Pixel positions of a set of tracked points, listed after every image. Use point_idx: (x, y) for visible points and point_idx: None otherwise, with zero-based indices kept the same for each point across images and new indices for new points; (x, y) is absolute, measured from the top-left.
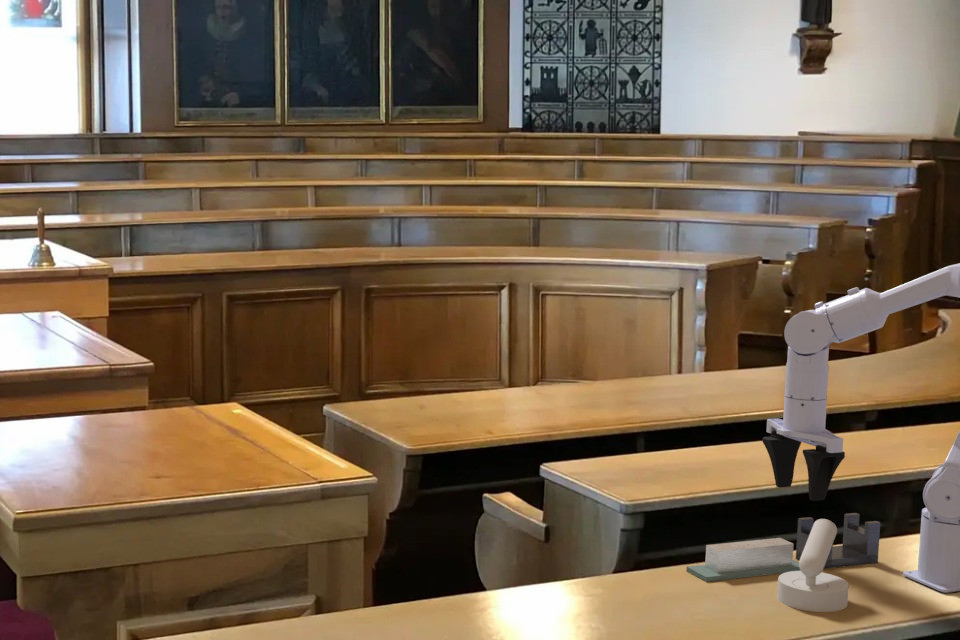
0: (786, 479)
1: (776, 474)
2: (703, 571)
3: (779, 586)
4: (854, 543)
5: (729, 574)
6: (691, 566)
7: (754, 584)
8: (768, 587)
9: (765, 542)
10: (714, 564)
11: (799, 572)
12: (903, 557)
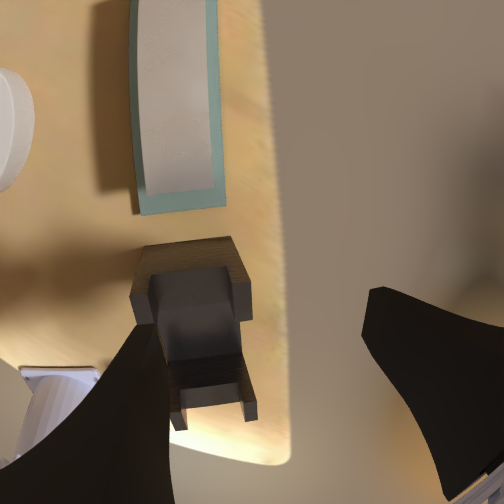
0: (380, 335)
1: (408, 305)
2: None
3: None
4: (206, 366)
5: (131, 5)
6: None
7: (83, 48)
8: (58, 71)
9: (176, 114)
10: None
11: (2, 126)
12: (198, 410)
